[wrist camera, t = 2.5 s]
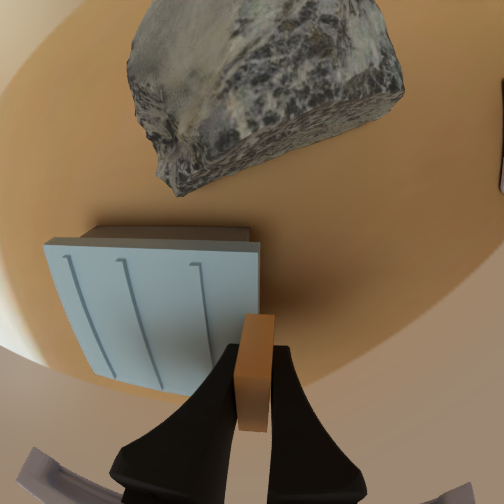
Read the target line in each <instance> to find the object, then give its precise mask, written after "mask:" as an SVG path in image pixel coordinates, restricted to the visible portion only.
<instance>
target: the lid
mask: <svg viewBox="0 0 504 504" xmlns="http://www.w3.org/2000/svg"><path fill="white" fill-rule="evenodd" d="M43 248H44V252H45V255H46V259H47V262H48V265H49V268H50V271H51V275H52V278H53V280H54V283H55V286H56V289H57V292H58V295H59V297H60V300H61V302H62V305H63V308H64V310H65V313H66V315H67V317H68V320H69V322H70V324H71V327H72V329H73V331H74V333H75V336H76V338H77V340H78V342H79V344H80V346H81V348H82V350H83V352H84V354H85V356H86V358H87V360H88V362H89V364H90V366H91V368H92V370H93V371H94V373H95V374H97V375H100V376H104V377H107V378H111V379H114V380H118V381H121V382H125V383H129V384H133V385H137V386H141V387H146V388H150V389H155V390H159V391H164V392H169V393H175V394H180V395H186V396H192V395H193V393H194V392H195V391H196V390H197V389H198V387H199V386H200V385H201V384H202V383H203V381H204V380H205V379H206V378H207V376H208V375H209V373H210V372H211V371H212V369H213V368H214V366H215V365H216V363H217V362H218V360H219V359H220V357H221V355H222V354H223V352H224V350H225V348H226V346H227V345H228V344H229V343H233V344H240V346H239V351H238V356H237V361H236V366H235V371H234V386H235V397H236V408H237V418H238V428H239V430H243V431H254V432H267V425H268V413H269V400H270V387H271V373H272V355H273V340H274V321H275V315H268V314H260V242H245V241H212V240H174V239H130V238H68V237H54V238H52V239H51V240H49V241H48V242H46V243H45V244H43Z"/></svg>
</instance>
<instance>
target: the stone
mask: <svg viewBox="0 0 504 504" xmlns="http://www.w3.org/2000/svg"><path fill="white" fill-rule="evenodd" d="M127 73H128V74H127V77H128V83H129V87H130V90H131V92H132V96H133V99H134V103H135V116H136V117H137V120H138V122H139V123H140V125H141V126H142V127H143V128H144V129H145V130H146V137H147V138H148V139H149V140H150V141H152V143H153V147H154V149H155V150H156V153H157V155H158V167H157V170H156V176H157V177H159V178H160V179H162V180H163V181H164V182H165V183H166V184H167V185H168V186H169V187H170V188H172V189H173V191H174V193H175V195H176V197H184V196H185V195H186V194H188V193H190V192H192V191H195V190H196V189H198V188H200V187H202V186H204V185H206V184H208V183H210V182H212V181H215V180H217V179H219V178H221V177H223V176H227V175H234V174H235V173H237V172H238V171H240V170H243V169H245V168H247V167H249V166H251V165H258V164H261V163H263V162H265V161H267V160H269V159H272V158H275V157H278V156H280V155H282V154H284V153H286V152H288V151H290V150H294V149H297V148H300V147H303V146H307V145H310V144H313V143H316V142H319V141H321V140H324V139H326V138H331V137H334V136H336V135H339V134H341V133H343V132H346V131H348V130H351V129H354V128H356V127H359V126H361V125H363V124H365V123H366V122H369V121H375V120H377V119H379V118H381V117H382V116H384V115H385V114H386V113H387V112H389V111H391V108H392V107H393V106H394V105H396V102H397V101H398V100H399V99H401V98H402V97H403V94H404V93H405V88H404V84H403V75H402V69H401V65H400V63H399V61H398V59H397V57H396V54H395V51H394V48H393V45H392V43H391V40H390V38H389V36H388V33H387V29H386V24H385V20H384V16H383V14H382V12H381V10H380V8H379V7H378V5H377V4H376V2H375V1H374V0H153V1H152V3H151V5H150V7H149V8H148V10H147V12H146V14H145V16H144V17H143V19H142V21H141V23H140V25H139V27H138V29H137V31H136V33H135V36H134V38H133V40H132V48H131V54H130V58H129V59H128V61H127Z"/></svg>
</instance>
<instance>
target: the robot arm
mask: <svg viewBox="0 0 504 504" xmlns="http://www.w3.org/2000/svg"><path fill="white" fill-rule="evenodd" d="M500 188H501V191H502V193H504V159H503V169H502V178H501V187H500ZM239 346H240V344H233V343H229V344H228V345H227V346H226V348H225V350H224V352H223V354H222V355H221V357H220V359H219V360H218V362H217V363H216V365H215V366H214V368H213V369H212V371H211V372H210V373H209V375H208V376H207V378H206V379H205V380H204V381H203V383H202V384H201V385H200V386H199V387H198V389H197V390H196V391H195V392H194V393H193V395H192V396H191V397H190V398H189V399H188V400H187V401H186V402H185V403H184V404H183V405H182V406H181V407H180V408H179V409H178V410H177V411H176V412H174V413H173V414H172V415H171V416H170V417H169V418H167V419H166V420H165V421H164V422H162V423H161V424H160V425H158V426H157V427H155V428H154V429H153V430H151V431H150V432H149V433H147V434H145V435H144V436H142V437H141V438H139V439H137V440H135V441H133V442H131V443H130V444H128V445H126V446H124V447H122V448H121V450H120V451H119V453H118V455H117V456H116V458H115V460H114V463H113V465H112V467H111V470H110V472H109V474H110V476H111V478H113V479H114V480H115V481H116V482H118V483H119V484H121V485H122V486H123V487H125V491H124V494H123V495H122V494H119V493H117V492H114V491H112V490H109V489H107V488H105V487H102V486H100V485H98V484H96V483H94V482H92V481H90V480H87V479H85V478H83V477H81V476H79V475H77V474H76V473H73V472H72V471H70V470H68V469H66V468H64V467H63V466H61V465H60V464H59V463H58V462H56V461H55V460H54V459H52V458H51V457H50V456H48V455H47V454H45V453H43V452H42V451H40V450H39V449H37V448H35V447H33V448H32V450H31V452H30V454H29V456H28V457H27V459H26V461H25V463H24V465H23V467H22V469H21V471H20V473H19V475H18V477H17V479H16V482H17V483H18V484H19V485H21V486H22V487H23V488H24V489H26V490H27V491H28V492H30V493H31V494H32V495H33V496H35V497H36V498H37V499H38V500H40V501H41V502H42V503H44V504H224V499H225V490H226V481H227V473H228V466H229V458H230V451H231V443H232V439H233V434H234V430H235V425H236V422H237V408H236V397H235V386H234V371H235V366H236V361H237V356H238V351H239ZM271 421H272V450H271V462H270V474H269V485H268V495H267V504H357V502H359V501H360V500H362V499H363V498H364V497H365V496H366V495H367V488H366V484H365V481H364V478H363V475H362V473H361V471H360V470H359V469H358V468H357V467H356V466H355V465H354V464H353V463H352V462H351V461H350V459H349V458H348V457H347V456H346V455H345V454H344V453H343V452H342V451H341V450H340V448H339V447H338V446H337V445H336V443H335V442H334V441H333V440H332V438H331V437H330V435H329V434H328V433H327V431H326V430H325V429H324V427H323V426H322V424H321V422H320V421H319V419H318V418H317V416H316V414H315V413H314V412H313V409H312V407H311V406H310V404H309V402H308V400H307V398H306V396H305V394H304V391H303V389H302V387H301V384H300V382H299V379H298V377H297V374H296V371H295V368H294V365H293V362H292V358H291V353H290V348H289V347H288V346H276V345H273V355H272V373H271ZM421 504H475V499H474V494H473V490H472V485H471V482H468V483H466V484H464V485H462V486H460V487H457V488H455V489H453V490H450V491H448V492H446V493H444V494H442V495H440V496H439V497H438V498H436V499H433V500H430V501H427V502H424V503H421Z"/></svg>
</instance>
